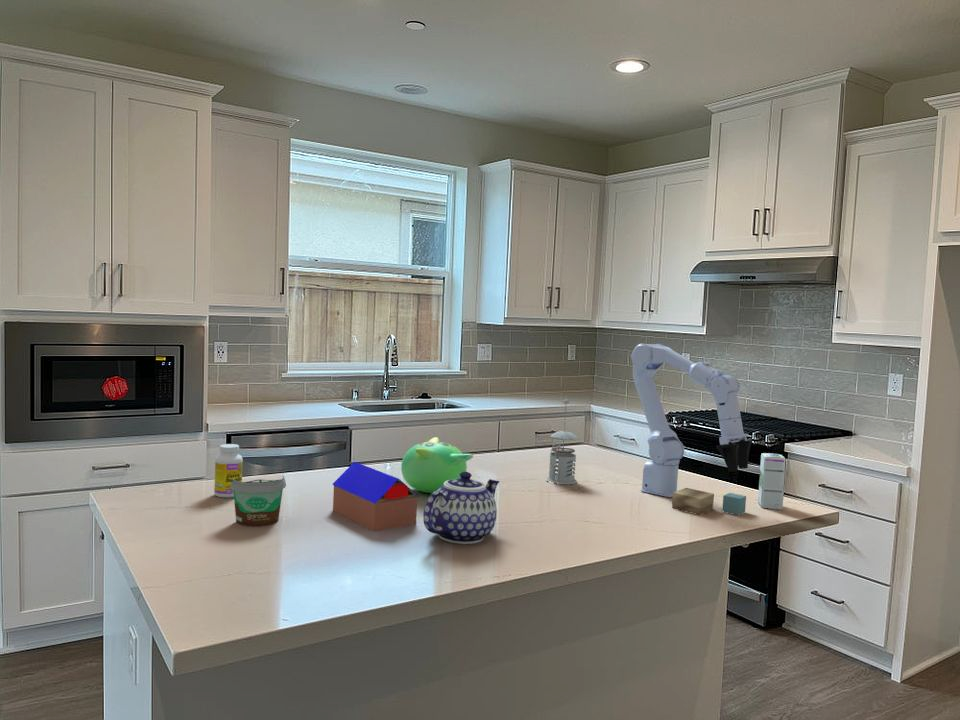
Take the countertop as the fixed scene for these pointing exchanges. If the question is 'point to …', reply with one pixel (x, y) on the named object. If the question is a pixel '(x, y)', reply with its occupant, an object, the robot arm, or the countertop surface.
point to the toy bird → (433, 465)
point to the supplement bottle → (227, 470)
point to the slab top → (693, 497)
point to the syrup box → (771, 481)
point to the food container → (257, 501)
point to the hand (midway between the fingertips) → (738, 469)
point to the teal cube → (734, 503)
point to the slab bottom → (692, 508)
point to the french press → (562, 458)
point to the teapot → (462, 510)
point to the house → (374, 498)
